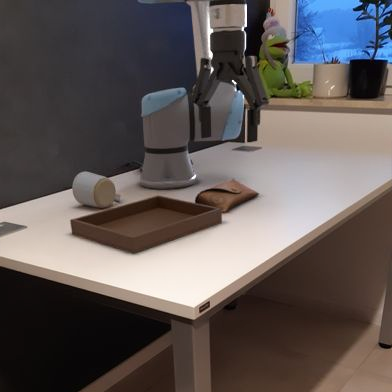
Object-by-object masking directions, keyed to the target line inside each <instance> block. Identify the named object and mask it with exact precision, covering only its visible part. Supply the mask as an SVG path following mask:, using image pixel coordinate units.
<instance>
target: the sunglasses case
mask: <svg viewBox="0 0 392 392" xmlns="http://www.w3.org/2000/svg"><path fill="white" fill-rule="evenodd" d="M258 195H260V193H259V192H258V191H256V190H255V189H252V188H250V187H249V186H247V185H246V184H244V183H241V182H239V181H238V180H236V178H235V177H233V178H232V179H230V180H228V181H225V182H223V183H220V184H217V185H215V186H213V187H210V188H206V189H203V190H201V191H199V193H197V195H196V196H195V199H194V203H197V204H202V205H207V206H212V207H217V208H221V209H222V213H223V212H227V211H229V210H231V209H232V208H234V207H236V206H239V205H241V204H243V203H245V202H248V201H250V200H252V199H253V198H255V197H257V196H258Z"/></svg>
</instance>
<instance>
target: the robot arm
mask: <svg viewBox="0 0 392 392" xmlns="http://www.w3.org/2000/svg"><path fill="white" fill-rule="evenodd" d="M137 2H138V3H140V4H150V5H153V4H161V3H163V4H165V3H181V2H183V3H184V2H185V3H186V4H187V5H188V6H190V10H191V11H190V12H191V21H192V33H193V47H194V55H195V58H194V59H195V68H196V82H195V84H194V86H193V87H192V93H187V90H186V88H185V87H177V88H168V89H164V90H159V91H155V92H151V93H148V94H146V95H144V96H143V97H142V99H141V114H140V116H141V118H142V128H143V142H144V143H143V145H144V159H143V163H142V162H139V161H137V160H135V159H134V160H133V159H132V160H133V161H132V163H126V162H125V164H124V166H125V167H128V166H129V165H130V164H132V165H133V164H135V165H137V166H139V169H138V170H139V172H141V174H140V185H141V186H142V187H144V188H148V189H154V190H171V189H181V188H186V187H190V186H192V185H194V184H196V183H197V174H196V172H195V170H194V168H193V167H194V166H193V165H194V162H193V160H192V159H191V157H190V155H189V142H193V143H194V142H213V141H215V142H216V141H222V142H224V141H227V140H235V139H237V138H238V137H239V136H240V134H241V130H242V127H243V126H242V125H243V117H244V110H245V109H244V108H245V101H246V102H247V104H248V106H249V108H248V109H247V110H246V143H253V142H258V131H259V130H258V127H259V126H260V125H261V110H262V108H263V107H266V106H268V105H269V103H270V100H269V98H268V94H267V91H266V89H265V85H264V83H263V80H262V76H261V73H260V70H259V67H258V57H257V56H256V55H247V56H245V51H246V49H247V32H246V31H245V30H244V29H245V28H246V27H247V0H137ZM244 68H245V70H244ZM237 87H238V89H239V90H237Z"/></svg>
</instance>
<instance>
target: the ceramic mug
mask: <svg viewBox="0 0 392 392" xmlns="http://www.w3.org/2000/svg"><path fill="white" fill-rule="evenodd" d="M71 190H72V195H73V198H74V199H75V201H76V202H77V203H78V204H80V205H83V206H89V207H95V208H98V209H104V208H108V207H109V206H111V205H112V204H113V202H114V201H116V202H120V200H121V194H120V193H116V186H115V183H114V182H113V180H111V179H110V178H108V177H106V176H104V175H99V174H96V173H93V172H89V171H82V172H79V173H78V174H77V175H75V177H74V179H73V182H72V189H71Z"/></svg>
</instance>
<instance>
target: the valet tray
mask: <svg viewBox="0 0 392 392" xmlns="http://www.w3.org/2000/svg"><path fill="white" fill-rule="evenodd" d="M69 222H70V228H71V235H74V236H77V237H80V238H84V239H86V240H90V241H94V242H97V243H100V244H103V245H105V246H109V247H113V248H116V249H118V250H121V251H125V252H128V253H131V254H137V253H139V252H142V251H145V250H149V249H151V248H154V247H157V246H159V245H163V244H165V243H168V242H171V241H174V240H177V239H179V238H183V237H185V236H187V235H191V234H194V233H196V232H199V231H202V230H205V229H208V228H210V227H214V226H216V225H219V224H221V223H222V222H223V212H222V209H221V208H217V207H212V206H207V205H202V204H197V203H195V202H192V201H188V200H183V199H182V200H181V199H179V198H173V197H167V196H163V195H154V196H151V197H147V198H144V199H140V200H136V201H133V202H129V203H126V204H122V205H118V206H115V207H111V208H107V209H104V210H100V211H97V212H93V213H89V214H86V215H82V216H78V217H75V218H71V219H69Z"/></svg>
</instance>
